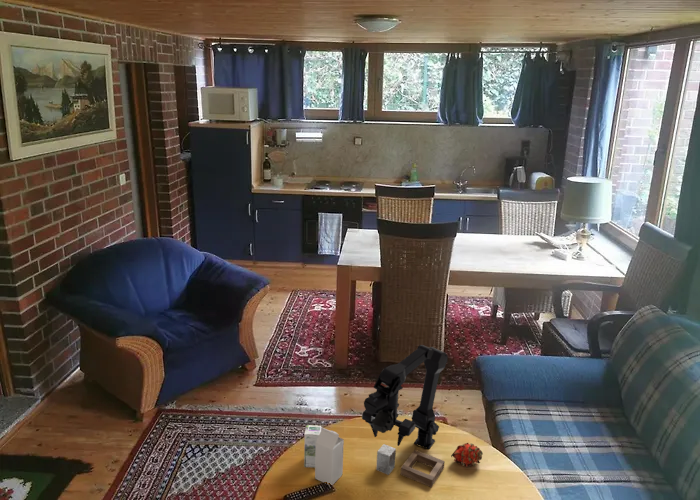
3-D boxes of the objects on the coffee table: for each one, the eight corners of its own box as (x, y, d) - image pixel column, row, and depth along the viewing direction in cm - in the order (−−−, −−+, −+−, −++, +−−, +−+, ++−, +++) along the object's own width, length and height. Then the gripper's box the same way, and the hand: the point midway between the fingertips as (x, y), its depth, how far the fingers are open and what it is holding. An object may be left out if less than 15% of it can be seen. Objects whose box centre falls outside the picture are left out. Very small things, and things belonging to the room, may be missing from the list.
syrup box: (320, 458, 205) (321, 424, 201) (319, 468, 200) (320, 434, 196) (305, 457, 206) (306, 423, 201) (303, 468, 200) (304, 433, 196)
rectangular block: (382, 462, 204) (383, 444, 202) (394, 467, 202) (395, 448, 200) (376, 470, 200) (377, 451, 198) (388, 475, 198) (389, 456, 196)
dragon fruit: (484, 468, 206) (452, 472, 206) (478, 445, 211) (447, 448, 211) (487, 461, 199) (454, 465, 199) (481, 438, 204) (449, 441, 204)
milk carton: (331, 486, 191) (332, 439, 186) (314, 478, 195) (315, 432, 189) (342, 475, 197) (344, 429, 192) (326, 467, 201) (327, 422, 195)
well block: (414, 456, 208) (414, 449, 207) (444, 467, 203) (444, 461, 202) (400, 474, 198) (400, 467, 197) (431, 487, 193) (432, 480, 192)
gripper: (355, 405, 191) (353, 443, 196) (403, 422, 182) (400, 462, 187) (370, 390, 200) (368, 428, 205) (417, 407, 191) (414, 445, 196)
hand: (387, 440), depth 198 cm, fingers open, 9 cm apart
